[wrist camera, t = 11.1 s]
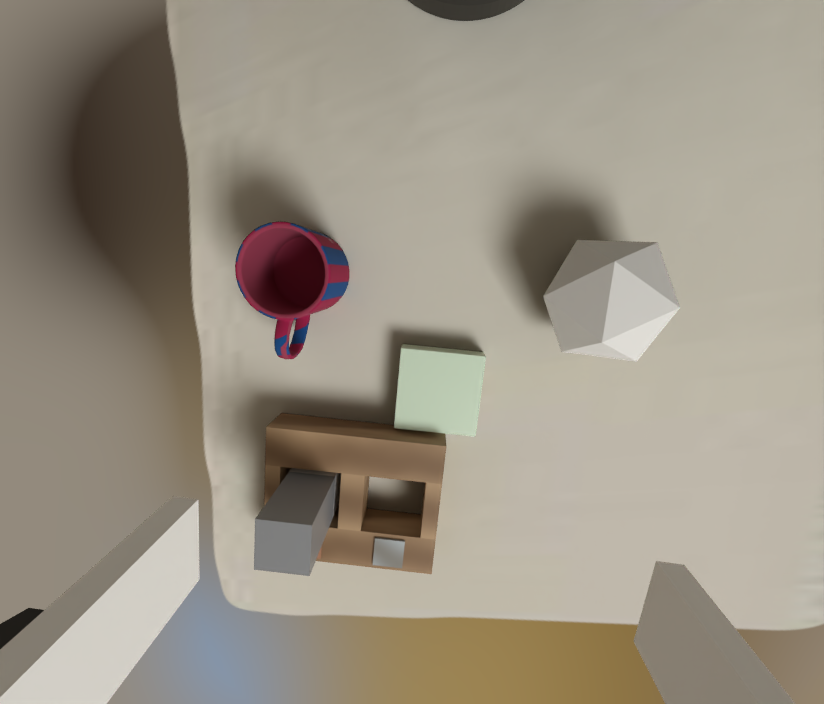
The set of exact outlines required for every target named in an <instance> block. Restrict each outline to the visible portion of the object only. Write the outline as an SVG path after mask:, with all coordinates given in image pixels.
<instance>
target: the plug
mask: <svg viewBox="0 0 824 704" xmlns="http://www.w3.org/2000/svg"><path fill="white" fill-rule="evenodd" d="M340 485H341V473H334V472H325V471H316V470H306V469H297V468H291V470H290V471H289V473H288V474H287V475H286V477H285V478H284V479H283V481H282V482H281V484H280V485H279V486H278V488H277V489H276V491H275V492H274V493H273V495H272V496H271V498H270V499H269V500H268V502H267V503H266V505H265V506H264V507H263V509H262V510H261V512H260V513H259V514H258V516H257V517H256V519H255V549H254V570H263V571H271V572H280V573H288V574H297V575H306V576H310V573H311V571H312V568H313V566H314V563H315V561H316V558H317V556H318V554H319V551H320V549H321V546H322V544H323V541H324V539H325V536H326V534H327V531H328V529H329V526H330V524H331V521H332V519H333V516H334V514H335V511H336V509H337V506H338V504H339V500H340Z"/></svg>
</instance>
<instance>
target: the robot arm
mask: <svg viewBox="0 0 824 704" xmlns="http://www.w3.org/2000/svg"><path fill="white" fill-rule="evenodd" d="M408 1H410V2H411V3H412V4H414V5H415V6H417V7H419V8H420V9H422V10H424V11H426V12H428V13H430V14H433V15H435V16H438V17H441V18H445V19H450V20H458V21H473V20H481V19H485V18H490V17H493V16H496V15H499V14H501V13H504V12H506V11H508V10H510V9H512V8H513V7H515V6H517V5H518V4H520V3H521V2H523V1H524V0H408ZM198 511H199V510H198V499H191V498H183V497H177V496H173V497H171V498H170V499H169V500H168V501H167V502H166V503H164V504H163V505H162V506H161V507H160V508H159V509H158V510H157V511H156V512H154V513H153V514H152V515H151V516H150V517H149V518H148V519H146V520H145V521H144V522H143V523H142V524H141V525H140V526H139V527H137V528H136V529H135V530H134V531H133V532H132V533H131V534H130V535H128V536H127V537H126V538H125V539H124V540H123V541H122V542H121V543H120V544H118V545H117V546H116V547H115V548H114V549H113V550H112V551H110V552H109V553H108V554H107V555H106V556H105V557H104V558H103V559H101V560H100V561H99V562H98V563H97V564H96V565H95V566H94V567H92V568H91V569H90V570H89V571H88V572H87V573H86V574H85V575H84V576H82V577H81V578H80V579H79V580H78V581H77V582H76V583H74V584H73V585H72V586H71V587H70V588H69V589H68V590H67V591H66V592H64V593H63V594H62V595H61V596H60V597H59V598H58V599H57V600H55V601H54V602H53V603H52V604H51V605H50V606H49V607H48V608H47V609H45V610H40V609H32V608H28V609H26V610H24V611H23V612H21V613H19V614H17V615H16V616H14V617H12V618H10V619H9V620H7V621H5V622H3V623H1V624H0V704H107V702H108V701H109V699H110V698H111V697H112V695H113V694H114V693H115V692H116V690H117V689H118V687H119V686H120V685H121V683H122V682H123V681H124V679H125V678H126V677H127V675H128V674H129V673H130V671H131V670H132V669H133V667H134V666H135V665H136V663H137V662H138V661H139V659H140V658H141V657H142V655H143V654H144V653H145V651H146V650H147V649H148V647H149V646H150V645H151V643H152V642H153V641H154V639H155V638H156V637H157V635H158V634H159V632H160V631H161V630H162V629H163V627H164V626H165V624H166V623H167V622H168V621H169V619H170V618H171V617H172V615H173V614H174V613H175V611H176V610H177V609H178V607H179V606H180V605H181V603H182V602H183V600H184V599H185V598H186V597H187V595H188V594H189V593H190V591H191V590H192V589H193V587H194V586H195V585H196V583H197V582H198V580H199V512H198ZM634 643H635V645H636V647H637V649H638V651H639V653H640V655H641V657H642V658H643V661H644V663H645V664H646V666H647V668H648V670H649V672H650V674H651V676H652V678H653V680H654V682H655V684H656V686H657V688H658V690H659V692H660V694H661V696H662V698H663V700H664V702H665V704H795V702H794V701H793V700H792V699H791V697H790V696H789V695H788V694H787V692H786V691H785V690H784V689H783V688H782V687H781V685H780V684H779V682H778V681H777V680H776V679H775V678H774V676H773V675H772V674H771V673H770V671H769V670H768V669H767V668H766V666H765V665H764V664H763V663H762V661H761V660H760V659H759V658H758V657H757V655H756V654H755V653H754V651H753V650H752V649H751V648H750V646H749V645H748V644H747V643H746V641H745V640H744V639H743V638H742V636H741V635H740V634H739V633H738V631H737V630H736V629H735V628H734V626H733V625H732V624H731V623H730V621H729V620H728V619H727V618H726V617H725V615H724V614H723V613H722V612H721V610H720V609H719V608H718V607H717V605H716V604H715V603H714V602H713V600H712V599H711V598H710V597H709V595H708V594H707V593H706V592H705V590H704V589H703V588H702V587H701V585H700V584H699V583H698V582H697V580H696V579H695V578H694V577H693V575H692V574H691V573H690V572H689V570H688V569H687V568H686V567H685V565H681V564H674V563H666V562H659V561H656V563H655V567H654V570H653V574H652V578H651V581H650V585H649V588H648V592H647V596H646V599H645V603H644V606H643V610H642V613H641V617H640V621H639V624H638V628H637V631H636V635H635V638H634Z"/></svg>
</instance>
